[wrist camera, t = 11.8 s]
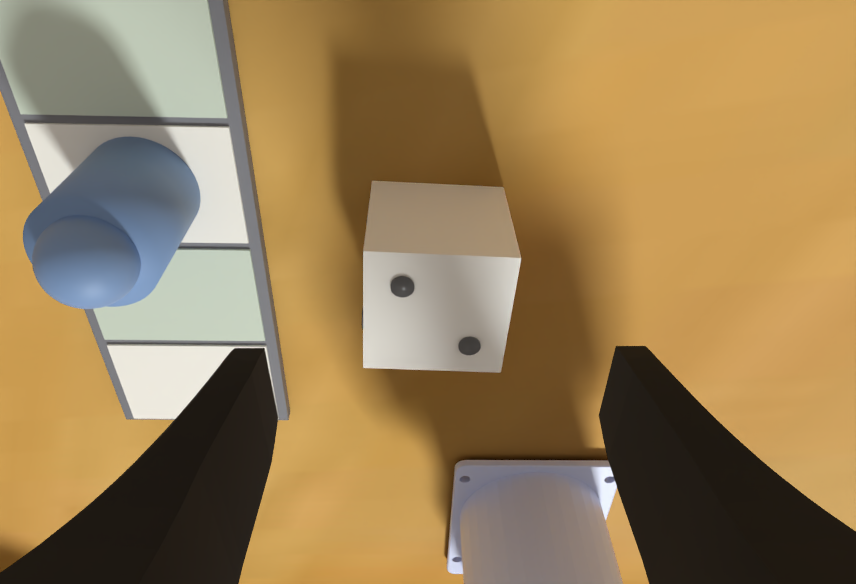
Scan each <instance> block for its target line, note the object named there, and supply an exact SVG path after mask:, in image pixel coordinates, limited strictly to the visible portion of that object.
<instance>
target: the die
mask: <svg viewBox="0 0 856 584" xmlns="http://www.w3.org/2000/svg"><path fill="white" fill-rule="evenodd" d="M520 263H521V254H520V250H519V246H518V242H517V238H516V234H515V230H514V226H513V222H512V218H511V214H510V210H509V206H508V202H507V198H506V194H505V190H504V187H492V186H471V185H451V184H430V183H410V182H389V181H372V185H371V193H370V201H369V209H368V215H367V224H366V233H365V241H364V249H363V310H362V329H363V368H379V369H409V370H438V371H467V372H497V373H501V368H502V363H503V357H504V352H505V346H506V341H507V335H508V330H509V324H510V318H511V313H512V307H513V302H514V296H515V291H516V285H517V280H518V274H519V269H520Z"/></svg>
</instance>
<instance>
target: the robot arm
mask: <svg viewBox="0 0 856 584" xmlns="http://www.w3.org/2000/svg"><path fill="white" fill-rule="evenodd" d="M599 418H600V423H601V429H602V434H603V439H604V444H605V448H606V453H607V457H608V460H462V461H459V462H458V463H457V464H456V465H455V470H454V483H453V495H452V507H451V519H450V531H449V543H448V556H447V570H448V571H449V572H450V573H452V574H463V581H464V584H623V582H622V578H621V575H620V571H619V567H618V564H617V560H616V557H615V553H614V549H613V546H612V542H611V539H610V535H609V531H608V528H607V524H606V519H607V516H608V513H609V510H610V507H611V504H612V501H613V498H614V495H615V492H616V489H617V488H618V491H619V494H620V497H621V500H622V503H623V506H624V509H625V511H626V514H627V517H628V520H629V523H630V526H631V529H632V532H633V534H634V537H635V540H636V543H637V546H638V549H639V552H640V555H641V557H642V560H643V564H644V567H645V570H646V574H647V577H648V580H649V584H856V531H854V530H853V529H851V528H850V527H848V526H847V525H845V524H844V523H843V522H841V521H840V520H838V519H837V518H835V517H834V516H832V515H831V514H829V513H828V512H827V511H825V510H824V509H822V508H821V507H820V506H818V505H817V504H816V503H814V502H813V501H811V500H810V499H809V498H807V497H806V496H805V495H804V494H802V493H801V492H800V491H799V490H797V489H796V488H795V487H793V486H792V485H791V484H790V483H788V482H787V481H786V480H784V479H783V478H782V477H781V476H779V475H778V474H777V473H776V472H774V471H773V470H772V469H771V468H770V467H768V466H767V465H766V464H765V463H764V462H762V461H761V460H760V459H759V458H758V457H757V456H756V455H754V454H753V453H752V452H751V451H750V450H749V449H748V448H747V447H746V446H744V445H743V444H742V443H741V442H740V441H739V440H738V439H737V438H735V437H734V436H733V435H732V434H731V433H730V432H729V431H728V430H727V429H726V428H725V427H724V426H723V425H722V424H721V423H720V422H718V421H717V420H716V419H715V418H714V417H713V416H712V415H711V414H710V413H709V412H708V411H707V410H706V409H705V408H704V407H703V406H702V405H701V404H700V403H699V402H698V401H697V400H696V399H695V398H694V397H693V396H692V395H691V393H690V392H689V391H688V390H687V389H686V388H685V387H684V386H683V385H682V384H681V383H680V382H679V381H678V380H677V379H676V378H675V377H674V376H673V375H672V374H671V372H670V371H669V370H668V369H667V368H666V367H665V366H664V365H663V364H662V363H661V362H660V361H659V360H658V359H657V358H656V357H655V355H654V354H653V353H652V352H651V351H650V350H649V349H648V348H647V347H646V346H616V348H615V352H614V356H613V360H612V364H611V368H610V372H609V376H608V380H607V385H606V389H605V393H604V397H603V401H602V405H601V409H600V413H599ZM277 422H278V414H277V409H276V404H275V399H274V394H273V388H272V383H271V378H270V373H269V368H268V363H267V358H266V353H265V348H234V349H233V350H232V351H231V352H230V353H229V354H228V356H227V357H226V358H225V359H224V361H223V362H222V363H221V364H220V366H219V367H218V368H217V370H216V371H215V372H214V373H213V375H212V376H211V377H210V378H209V380H208V381H207V382H206V383H205V385H204V386H203V387H202V388H201V389H200V391H199V392H198V393H197V394H196V396H195V397H194V398H193V399H192V400H191V401H190V403H189V404H188V405H187V406H186V407H185V408H184V410H183V411H182V412H181V413H180V414H179V415H178V416H177V418H176V419H175V420H174V421H173V422H172V423H171V425H170V426H169V427H168V428H167V429H166V430H165V431H164V432H163V433H162V434H161V435H160V436H159V438H158V439H157V440H156V441H155V442H154V443H153V444H152V445H151V446H150V447H149V448H148V449H147V450H146V451H145V452H144V453H143V454H142V455H141V456H140V457H139V458H138V460H137V461H136V462H135V463H134V464H133V465H132V466H130V467H129V468H128V469H127V470H126V471H125V472H124V473H123V474H122V475H121V476H120V477H119V478H118V479H117V480H116V481H115V482H114V483H113V484H112V485H110V486H109V487H108V488H107V489H106V490H105V491H104V492H103V493H102V494H101V495H99V496H98V497H97V498H96V499H95V500H94V501H93V502H92V503H90V504H89V505H88V506H87V507H86V508H84V509H83V510H82V511H81V512H80V513H78V514H77V515H76V516H75V517H74V518H72V519H71V520H70V521H69V522H67V523H66V524H65V525H64V526H62V527H61V528H60V529H59V530H57V531H56V532H55V533H54V534H52V535H51V536H50V537H49V538H47V539H46V540H45V541H44V542H42V543H41V544H40V545H38V546H37V547H36V548H34V549H33V550H32V551H30V552H29V553H27V554H26V555H25V556H23V557H22V558H21V559H19V560H18V561H16V562H15V563H14V564H12V565H11V566H9V567H8V568H7V569H5V570H4V571H2V572H1V573H0V584H238V583H239V579H240V575H241V571H242V566H243V563H244V559H245V555H246V552H247V548H248V545H249V541H250V538H251V534H252V531H253V527H254V524H255V520H256V516H257V513H258V509H259V506H260V502H261V499H262V495H263V492H264V488H265V484H266V481H267V477H268V473H269V470H270V466H271V462H272V455H273V449H274V443H275V436H276V429H277Z"/></svg>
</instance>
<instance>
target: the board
mask: <svg viewBox="0 0 856 584" xmlns="http://www.w3.org/2000/svg"><path fill="white" fill-rule="evenodd" d="M0 91H1V93H2V96H3V99H4V101H5V104H6V107H7V109H8V112H9V114H10V117H11V120H12V122H13V125H14V127H15V130H16V133H17V135H18V138H19V140H20V143H21V146H22V148H23V151H24V153H25V156H26V159H27V161H28V164H29V167H30V169H31V172H32V174H33V177H34V180H35V182H36V185H37V187H38V190H39V193H40V195H41V198H42V200H44V199H45V198H46V197H48V196H49V195H50V194H51V193H52V192H53V191H54V190H55V189H56V188H57V187H58V186H59V185H60V184H61V183H62V182H63V181H64V180H65V179H66V178H67V177H68V176H69V175H70V174H71V173H72V172H73V171H74V170H75V169H76V168H77V167H78V166H79V165H80V164H81V163H82V162H83V161H84V160H85V159H86V158H87V157H88V156H89V155H90V154H91V153H92V152H93V151H94V150H95V149H96V148H97V147H98V146H100V145H101V144H102V143H104V142H106V141H108V140H111V139H114V138H118V137H129V136H131V137H140V138H145V139H148V140H152V141H155V142H157V143H159V144H161V145H163V146H165V147H167V148H168V149H170V150H171V151H173V152H174V153H176V154H177V155H178V156H179V157H180V158H181V159H182V160H183V161H184V162H185V163H186V164H187V165H188V167H189V168H190V169H191V171H192V173H193V174H194V176H195V178H196V180H197V183H198V186H199V190H200V207H199V211H198V213H197V215H196V217H195V219H194V221H193V222H192V224H191V226H190V228H189V229H188V231H187V233H186V235H185V236H184V238H183V240H182V242H181V243H180V245H179V247H178V249H177V250H176V252H175V254H174V256H173V257H172V259H171V261H170V263H169V264H168V266H167V268H166V270H165V271H164V273H163V275H162V277H161V278H160V280H159V282H158V284H157V285H156V287H155V289H154V290H153V291H152V292H151V293H150V294H149V295H148V296H147V297H146V298H144V299H142V300H141V301H138V302H136V303H134V304H130V305H126V306H119V307H106V306H105V307H102V308H95V309H84V310H85V313H86V315H87V318H88V320H89V323H90V326H91V328H92V331H93V334H94V336H95V339H96V341H97V344H98V347H99V349H100V352H101V354H102V357H103V360H104V362H105V365H106V367H107V370H108V373H109V375H110V378H111V380H112V383H113V386H114V388H115V391H116V394H117V396H118V399H119V401H120V404H121V407H122V409H123V412H124V414H125V417H126V419H170V420H175V419H176V418H177V416H178V415H179V414H180V413H181V412H182V411H183V410H184V408H185V407H186V406H187V405H188V404H189V403H190V401H191V400H192V399H193V398H194V397H195V396H196V394H197V393H198V392H199V391H200V389H201V388H202V387H203V386H204V385H205V383H206V382H207V381H208V380H209V378H210V377H211V376H212V375H213V373H214V372H215V371H216V370H217V368H218V367H219V366H220V364H221V363H222V362H223V361H224V359H225V358H226V357H227V356H228V354H229V353H230V352H231V351H232V350H233V349H234V348H265V353H266V358H267V363H268V368H269V373H270V378H271V383H272V388H273V394H274V399H275V404H276V409H277V414H278V420H289V415H290V407H289V400H288V394H287V387H286V380H285V374H284V367H283V361H282V354H281V348H280V341H279V334H278V328H277V321H276V315H275V308H274V301H273V295H272V288H271V282H270V275H269V269H268V262H267V255H266V249H265V242H264V236H263V229H262V223H261V216H260V209H259V203H258V196H257V190H256V183H255V177H254V170H253V163H252V157H251V150H250V144H249V137H248V131H247V124H246V117H245V111H244V104H243V98H242V91H241V85H240V78H239V71H238V65H237V58H236V52H235V45H234V39H233V32H232V25H231V19H230V12H229V6H228V0H0Z"/></svg>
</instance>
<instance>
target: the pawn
mask: <svg viewBox="0 0 856 584" xmlns="http://www.w3.org/2000/svg"><path fill="white" fill-rule="evenodd" d="M199 207H200V190H199V186H198V183H197V180H196V178H195V176H194V174H193V173H192V171H191V169H190V168H189V167H188V165H187V164H186V163H185V162H184V161H183V160H182V159H181V158H180V157H179V156H178V155H177V154H176V153H174V152H173V151H171V150H170V149H168V148H167V147H165V146H163V145H161V144H159V143H157V142H155V141H152V140H148V139H145V138H140V137H131V136H129V137H118V138H114V139H111V140H108V141H106V142H104V143H102V144H101V145H100V146H98V147H97V148H96V149H95V150H94V151H93V152H92V153H91V154H90V155H89V156H88V157H87V158H86V159H85V160H84V161H83V162H82V163H81V164H80V165H79V166H78V167H77V168H76V169H75V170H74V171H73V172H72V173H71V174H70V175H69V176H68V177H67V178H66V179H65V180H64V181H63V182H62V183H61V184H60V185H59V186H58V187H57V188H56V189H55V190H54V191H53V192H52V193H51V194H50V195H49V196H48V197H46V198H45V199H44V200H43V201H42V202H41V203H40V204H39V205H38V206H37V207H36V208H35V209H34V210H33V211H32V213H31V214H30V215H29V217H28V218H27V220H26V222H25V225H24V230H23V242H24V247H25V250H26V253H27V256H28V258H29V260H30V262H31V263H32V265H33V270H34V273H35V276H36V279H37V281H38V282H39V284H40V285H41V287H42V288H43V289H44V290H45V292H46V293H47V294H49V295H50V296H51V297H52V298H54V299H55V300H57V301H59V302H60V303H63V304H65V305H68V306H71V307H74V308H81V309H95V308H102V307H105V306H106V307H119V306H126V305H130V304H134V303H136V302H138V301H141V300H142V299H144V298H146V297H147V296H148V295H149V294H150V293H151V292H152V291H153V290H154V289H155V287H156V285H157V284H158V282H159V280H160V278H161V277H162V275H163V273H164V271H165V270H166V268H167V266H168V264H169V263H170V261H171V259H172V257H173V256H174V254H175V252H176V250H177V249H178V247H179V245H180V243H181V242H182V240H183V238H184V236H185V235H186V233H187V231H188V229H189V228H190V226H191V224H192V222H193V221H194V219H195V217H196V215H197V213H198V211H199Z"/></svg>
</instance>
